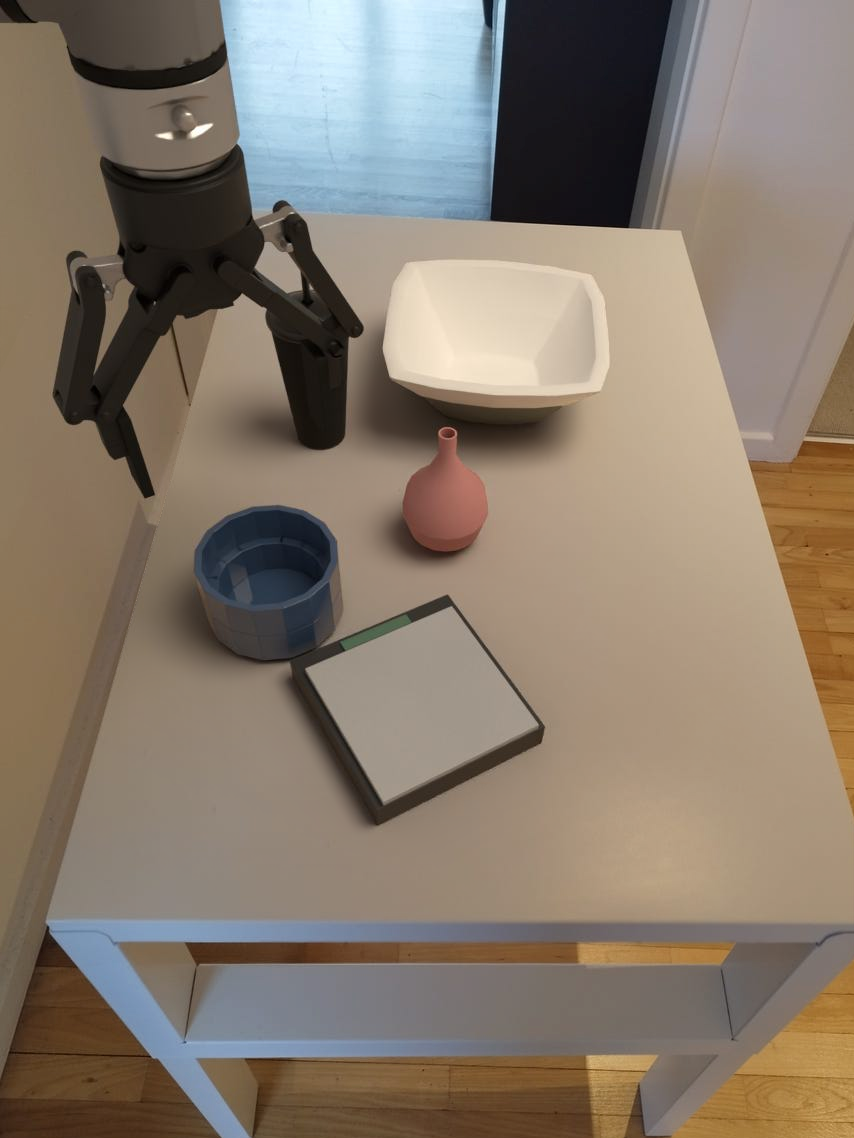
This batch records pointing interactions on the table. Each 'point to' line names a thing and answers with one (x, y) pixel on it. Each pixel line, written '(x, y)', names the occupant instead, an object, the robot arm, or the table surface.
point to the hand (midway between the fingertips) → (236, 453)
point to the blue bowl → (270, 581)
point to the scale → (415, 706)
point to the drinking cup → (295, 376)
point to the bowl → (496, 338)
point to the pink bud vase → (445, 500)
